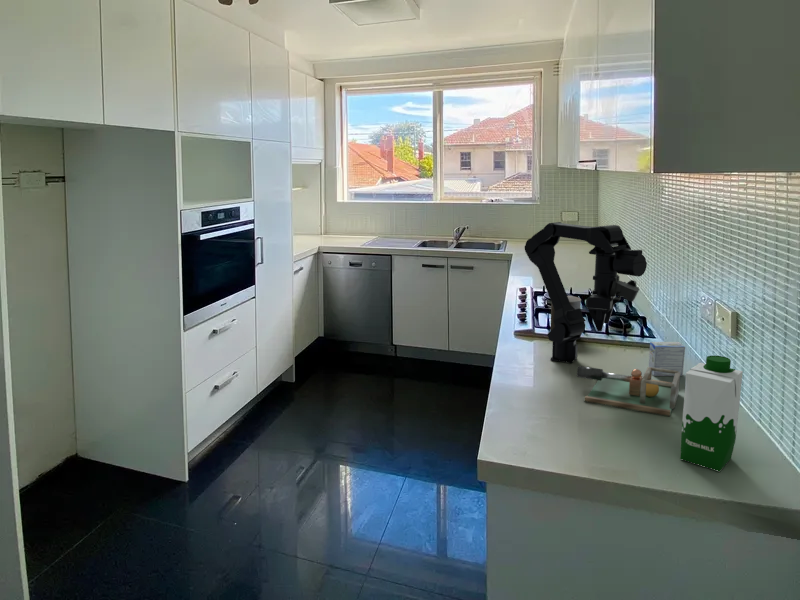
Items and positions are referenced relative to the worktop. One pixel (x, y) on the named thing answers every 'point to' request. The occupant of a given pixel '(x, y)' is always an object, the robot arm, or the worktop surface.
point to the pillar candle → (574, 303)
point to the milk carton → (710, 412)
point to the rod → (613, 377)
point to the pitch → (619, 395)
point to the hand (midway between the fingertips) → (603, 327)
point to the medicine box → (666, 357)
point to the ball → (651, 390)
